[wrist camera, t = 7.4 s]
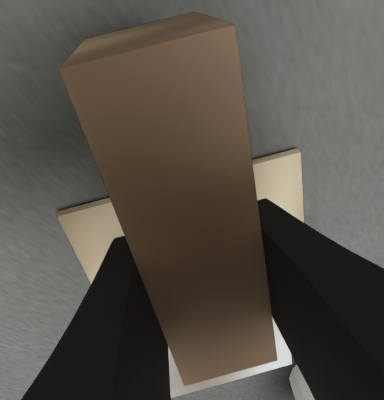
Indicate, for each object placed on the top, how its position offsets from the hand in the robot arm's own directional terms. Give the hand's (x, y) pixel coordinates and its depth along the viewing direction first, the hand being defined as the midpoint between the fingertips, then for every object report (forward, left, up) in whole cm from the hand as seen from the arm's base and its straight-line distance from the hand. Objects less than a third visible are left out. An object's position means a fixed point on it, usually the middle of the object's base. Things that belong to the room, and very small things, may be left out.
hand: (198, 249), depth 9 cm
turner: (0, +2, -2) cm, 3 cm away
